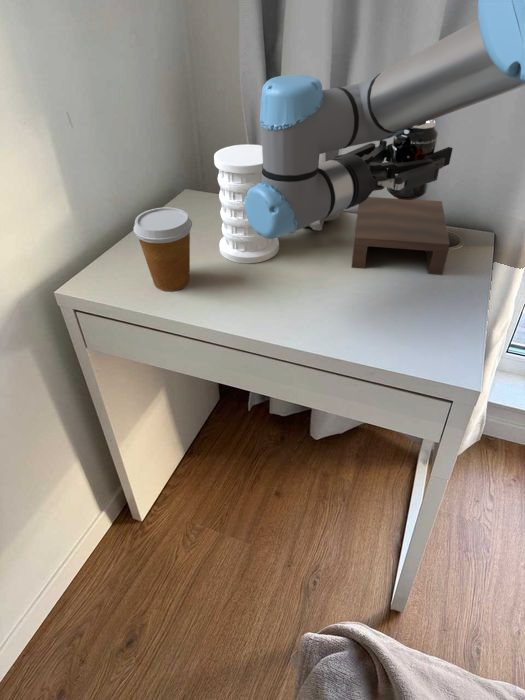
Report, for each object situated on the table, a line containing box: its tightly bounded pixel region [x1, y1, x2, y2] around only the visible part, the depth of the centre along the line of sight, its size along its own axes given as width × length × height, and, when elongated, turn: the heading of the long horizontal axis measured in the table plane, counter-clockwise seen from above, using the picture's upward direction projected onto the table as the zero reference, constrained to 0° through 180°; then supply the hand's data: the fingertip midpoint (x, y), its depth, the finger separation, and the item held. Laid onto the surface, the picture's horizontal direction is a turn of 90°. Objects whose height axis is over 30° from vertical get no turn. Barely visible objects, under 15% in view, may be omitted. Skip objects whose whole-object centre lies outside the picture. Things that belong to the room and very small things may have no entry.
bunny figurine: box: [303, 211, 341, 231], centre depth 103 cm, size 10×5×15 cm
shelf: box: [351, 196, 451, 276], centre depth 94 cm, size 18×16×6 cm
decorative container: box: [213, 143, 280, 264], centre depth 91 cm, size 12×12×18 cm
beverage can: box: [386, 119, 439, 200], centre depth 83 cm, size 7×7×12 cm
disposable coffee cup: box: [133, 206, 193, 292], centre depth 84 cm, size 10×10×12 cm
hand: (430, 150), depth 85 cm, fingers closed on beverage can, 7 cm apart
